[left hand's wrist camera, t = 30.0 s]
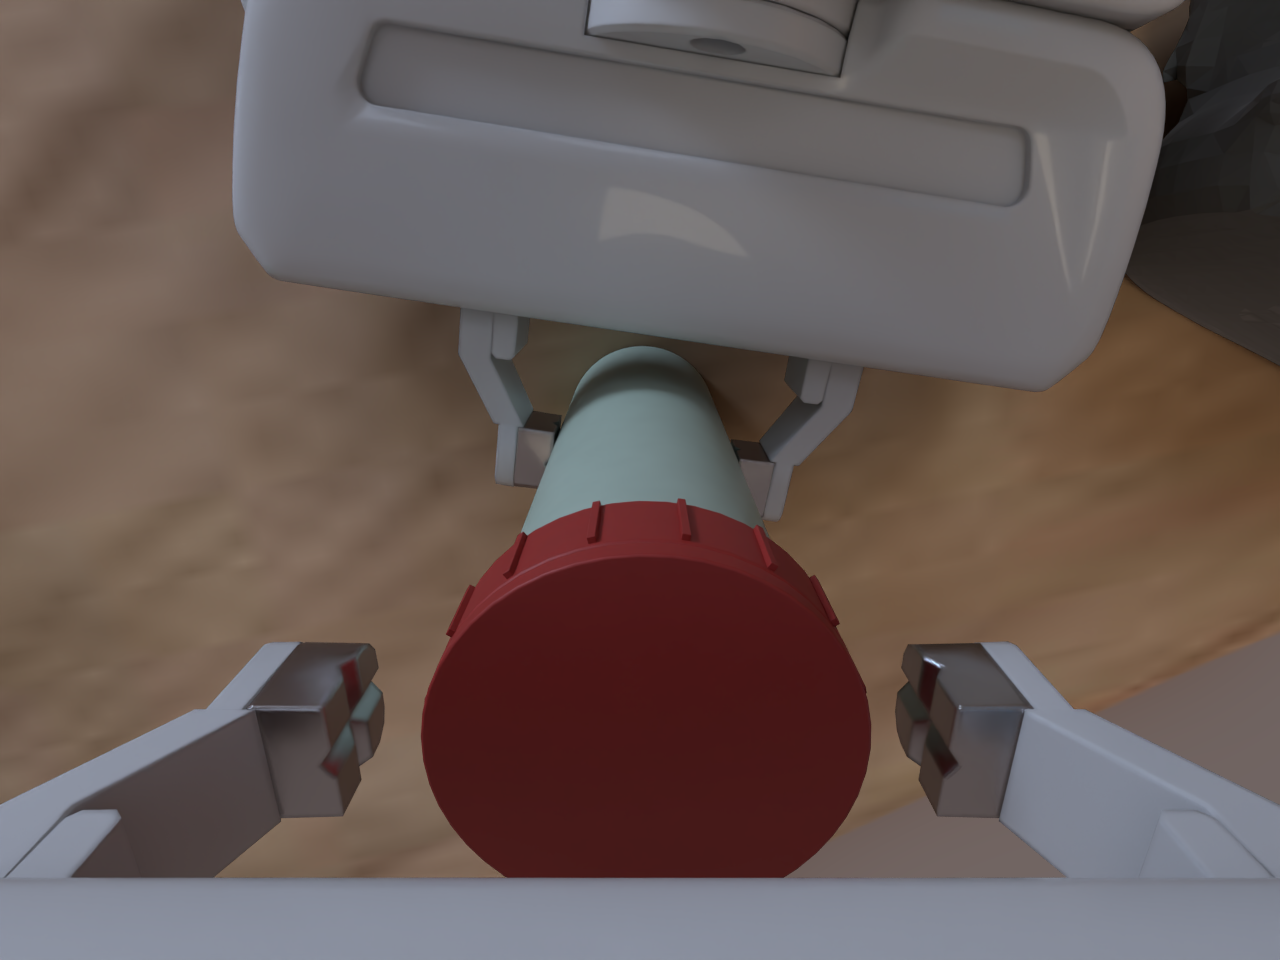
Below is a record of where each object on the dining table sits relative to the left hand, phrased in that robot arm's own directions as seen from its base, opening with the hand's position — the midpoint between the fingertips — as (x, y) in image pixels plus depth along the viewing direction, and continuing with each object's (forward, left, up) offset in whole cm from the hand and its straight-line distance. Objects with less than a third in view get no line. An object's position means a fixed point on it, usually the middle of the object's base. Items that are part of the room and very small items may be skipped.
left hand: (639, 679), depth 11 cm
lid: (0, 0, +2) cm, 2 cm away
